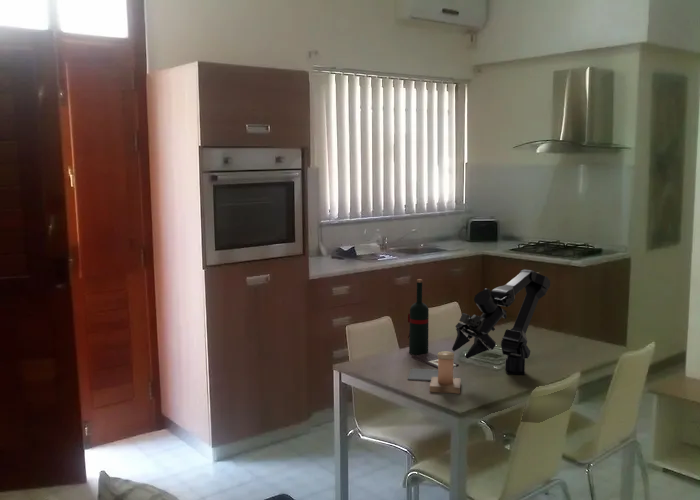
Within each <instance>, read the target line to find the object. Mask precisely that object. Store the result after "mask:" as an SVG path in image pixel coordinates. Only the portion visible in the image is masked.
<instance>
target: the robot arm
mask: <svg viewBox="0 0 700 500" xmlns="http://www.w3.org/2000/svg"><path fill="white" fill-rule="evenodd" d="M550 286H551V280H550V279H549V277H548V276H546V275H543V274H540V273H538V272H537V271H534V270H532V269H521V270H520V271H519V273H518V274H517V275H515V277H513V278H512V279H511V280H510V281H508V282H507V283H506V284H504V285H500V286H497V287H495V288H493V289H492V290H491V289H490V288H484V289H483V290H482V291H479V292H478V293H477V294H475V295H474V298H473V301H474V303H475V305H476V306H477V307H478V309H479V310H480V312H482V314H481V315H476V314H473V315H470V314H467V313H464V312H462V313H461V315H460V319H458V321H459V322H457V324H456V325H455V330H456V333H457V334H456V339H455V341H454V343H453V346H452V347H451V350H452V351H453V352H456V351H457V350H459V349H461V348H462V347H463V346H465V345H466V344H467V343H469V342H470V341H471V339H472V338H474V340H473V341H474V342H473V344H472V345H471V347H470V348H469V349H468V350H467V352H466V354H465V356H464V357H465V358H466V359H469V358H473V357H474V356H476V355H479V354H481V353H484V352H487V351H488V352H489V350H491V351H493V350H494V349H495V348H496V345H497V343H496V341H495V340H494V339H493V337H491V336H490V335H489V333H490V332H491V331H492V332H494V331H495V330H496V329H495V326H496V325H497V323H498V322H499V321H500V320H501V319H502V318H503V319H507V318H508V317H507V312H508V311H507V310H506V309H504V308H502V307H506V308H509V307H510V306H512V305H513V303H514V301H515V299H516V296H517V294H519V292H521V291H522V290H523V289H525V296H524V299H523V302H522V304H521V307H520V309H519V312H518V314H517V317H516V319H515V321H514V323H513V327H511V329H505V332H504V334H503V336H502V338H501V341H500V345H501V346H500V347H501V352H502V355H504V356H506V357H505V359H504V371H506V374H507V375H519V376H520V375H524V376H525V375H526V370H525V369H526V359H529V357H530V355H531V350H530V348H529V347H528V345H527V344H528V339H527V335H526V333H527V331H528V328H529V327H530V323H531V322H532V321H531V320H532V318H533V315H534V313H535V310H536V307H537V305H538V303H539V301H540V299H541V298H543V297H544V296H546V295H547V292H548V290H549V289H550Z"/></svg>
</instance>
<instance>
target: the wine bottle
mask: <svg viewBox="0 0 700 500" xmlns="http://www.w3.org/2000/svg"><path fill="white" fill-rule="evenodd" d="M429 312H430V311H429V307H428V306H427V304H426V303H425V302H423V279H421V278H418V279H416V302H414V303H412V304H411V306H410V308H409V313H408V314H407V322H408V324H409V328H408V329H409V333H408V336H407V339H409V341H408V353H409V354H411V355H413V356H415V355H420V354H426V353H429V317H430V314H429Z"/></svg>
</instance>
